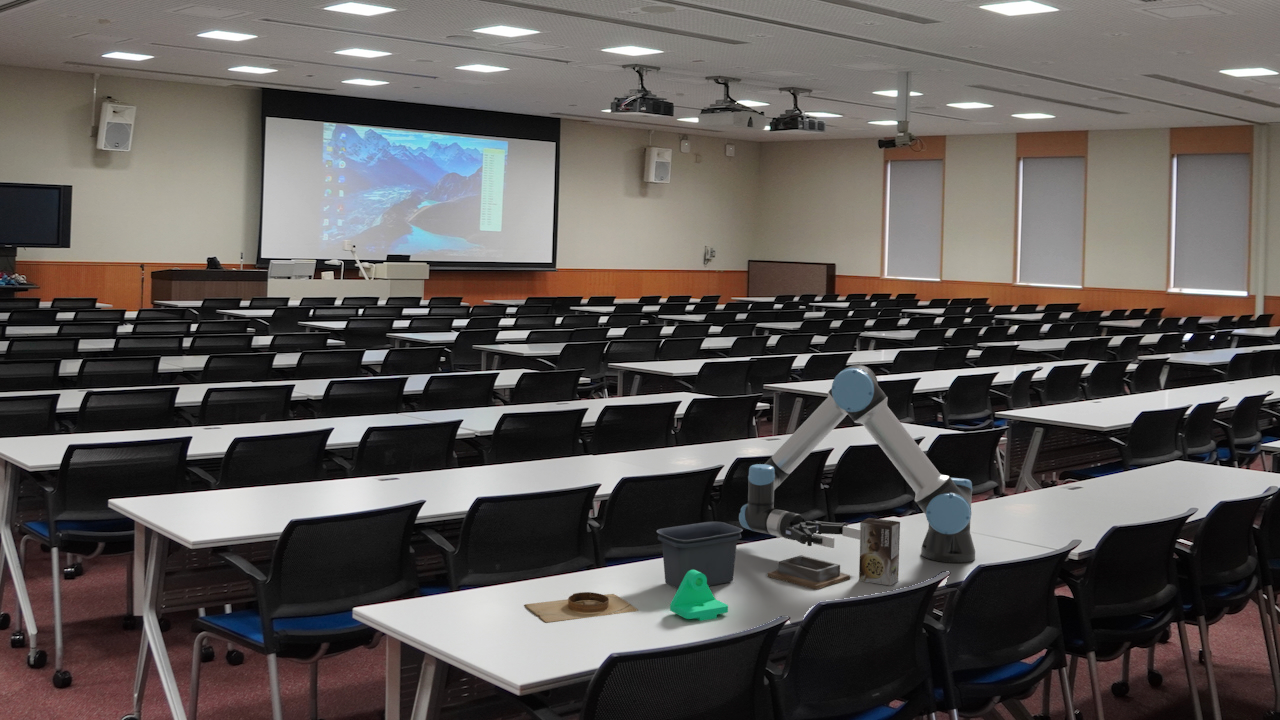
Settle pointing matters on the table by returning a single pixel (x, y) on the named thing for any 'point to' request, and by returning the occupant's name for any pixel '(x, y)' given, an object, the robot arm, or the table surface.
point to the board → (580, 607)
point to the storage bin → (699, 551)
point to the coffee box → (879, 551)
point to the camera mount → (696, 599)
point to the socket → (808, 572)
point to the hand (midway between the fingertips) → (848, 539)
